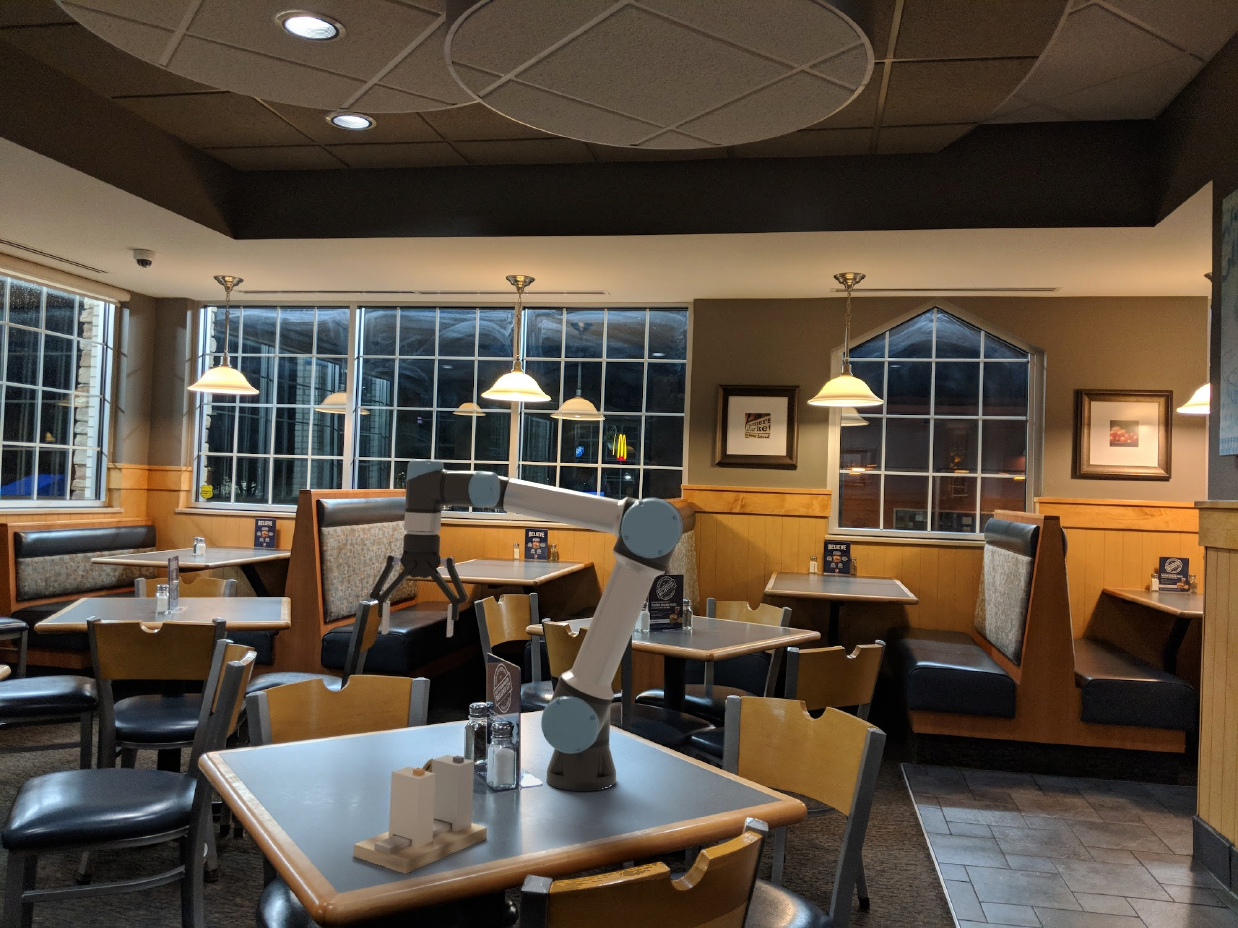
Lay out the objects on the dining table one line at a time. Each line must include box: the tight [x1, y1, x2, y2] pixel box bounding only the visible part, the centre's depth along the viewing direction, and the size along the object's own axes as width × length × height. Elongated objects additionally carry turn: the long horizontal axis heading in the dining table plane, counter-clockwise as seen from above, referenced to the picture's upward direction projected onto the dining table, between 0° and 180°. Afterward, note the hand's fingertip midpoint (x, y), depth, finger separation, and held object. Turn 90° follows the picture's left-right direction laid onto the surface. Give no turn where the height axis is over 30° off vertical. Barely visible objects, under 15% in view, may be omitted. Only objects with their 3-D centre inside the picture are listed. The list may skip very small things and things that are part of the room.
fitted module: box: [432, 754, 475, 831], centre depth 167 cm, size 6×4×12 cm, turn 58°
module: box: [388, 766, 436, 848], centre depth 159 cm, size 6×4×12 cm, turn 58°
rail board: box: [353, 819, 488, 875], centre depth 161 cm, size 20×12×3 cm, turn 148°
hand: (417, 634), depth 195 cm, fingers open, 13 cm apart
